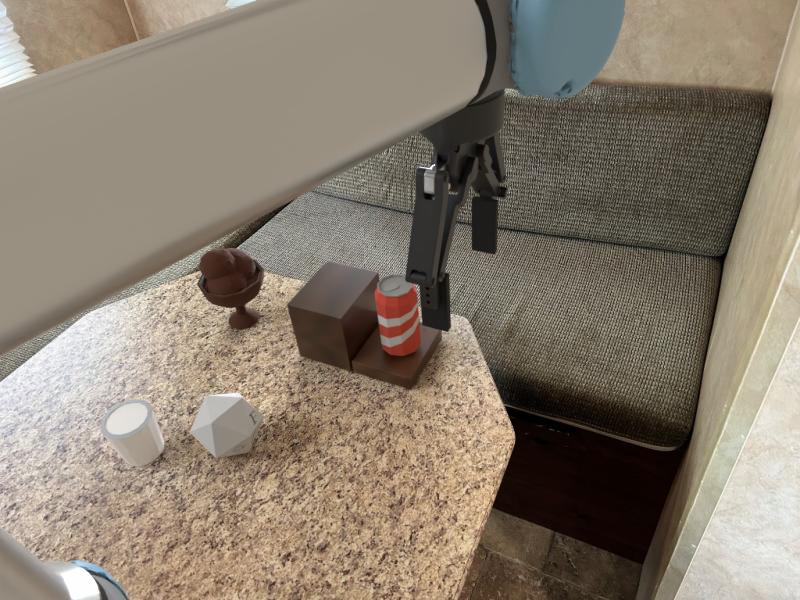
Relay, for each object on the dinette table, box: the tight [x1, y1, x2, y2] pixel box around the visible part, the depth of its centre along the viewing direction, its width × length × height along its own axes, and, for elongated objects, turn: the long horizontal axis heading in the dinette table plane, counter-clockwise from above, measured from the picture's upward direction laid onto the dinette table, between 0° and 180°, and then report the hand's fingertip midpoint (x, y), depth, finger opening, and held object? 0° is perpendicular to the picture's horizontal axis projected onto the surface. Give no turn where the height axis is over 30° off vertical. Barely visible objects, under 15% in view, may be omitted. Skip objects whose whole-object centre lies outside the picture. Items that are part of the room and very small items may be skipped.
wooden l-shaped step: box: [286, 260, 443, 391], centre depth 95 cm, size 20×12×11 cm, turn 64°
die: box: [189, 392, 265, 459], centre depth 83 cm, size 8×9×10 cm
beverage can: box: [374, 273, 421, 356], centre depth 91 cm, size 6×6×12 cm
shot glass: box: [99, 398, 165, 467], centre depth 84 cm, size 7×7×7 cm
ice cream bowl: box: [196, 247, 265, 331], centre depth 102 cm, size 11×11×15 cm
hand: (462, 286), depth 63 cm, fingers open, 13 cm apart
